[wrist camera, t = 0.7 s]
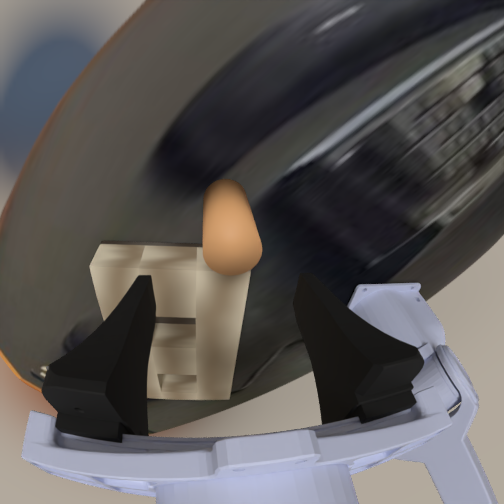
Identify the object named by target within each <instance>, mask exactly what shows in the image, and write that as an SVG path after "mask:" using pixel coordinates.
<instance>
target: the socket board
mask: <svg viewBox="0 0 504 504" xmlns="http://www.w3.org/2000/svg"><path fill="white" fill-rule="evenodd" d="M90 271H91V275H92V279H93V283H94V287H95V291H96V295H97V298H98V302H99V305H100V309H101V312H102V316H103V319H104V321H105V319H106V318H107V317H108V316H109V315H110V314H111V312H112V311H113V310H114V309H115V307H116V306H117V305H118V304H119V302H120V301H121V299H122V298H123V297H124V295H125V294H126V293H127V291H128V290H129V288H130V287H131V285H132V284H133V282H134V281H135V279H136V278H137V277H138V276H139V275H151V277H152V283H153V290H154V296H155V301H156V320H155V328H154V334H153V339H152V345H151V351H150V357H149V363H148V376H147V398H157V399H178V400H229V398H230V393H231V387H232V381H233V375H234V369H235V363H236V357H237V351H238V345H239V339H240V333H241V327H242V321H243V316H244V310H245V304H246V298H247V292H248V286H249V280H250V274H251V271H250V270H249V271H247V272H245V273H243V274H239V275H232V276H229V275H222V274H219V273H217V272H215V271H213V270H212V269H210V268H209V267H208V265H207V264H206V262H205V261H204V258H203V244H190V243H160V242H129V241H102V242H101V244H100V246H99V248H98V250H97V252H96V254H95V256H94V258H93V260H92V262H91V264H90Z"/></svg>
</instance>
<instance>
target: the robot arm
mask: <svg viewBox="0 0 504 504" xmlns="http://www.w3.org/2000/svg"><path fill="white" fill-rule="evenodd" d="M420 287H421V285H420V284H419V283H399V284H362V285H358V286H357V287H356V288H355V290H354V293H353V295H352V297H351V299H350V302H349V304H348V306H346V305H345V304H343V303H342V302H341V301H340V300H339V299H338V298H337V297H336V296H335V295H334V294H333V293H332V292H331V291H330V290H329V289H328V288H327V287H326V286H325V285H323V284H322V283H321V282H320V281H319V280H318V279H317V278H316V277H315V276H314V275H313V274H312V273H300V276H299V281H298V285H297V289H296V293H295V297H294V301H293V306H294V311H295V316H296V320H297V323H298V326H299V329H300V332H301V335H302V337H303V340H304V343H305V346H306V348H307V351H308V354H309V357H310V360H311V364H312V368H313V372H314V377H315V382H316V387H317V392H318V398H319V404H320V411H321V419H322V425H318V426H313V427H307V428H302V429H294V430H288V431H281V432H273V433H265V434H256V435H244V436H232V437H210V438H174V437H152V436H149V435H148V418H147V376H148V363H149V357H150V351H151V345H152V339H153V334H154V328H155V320H156V301H155V296H154V290H153V283H152V277H151V275H139V276H138V277H137V278H136V279H135V281H134V282H133V284H132V285H131V287H130V288H129V290H128V291H127V293H126V294H125V295H124V297H123V298H122V299H121V301H120V302H119V304H118V305H117V306H116V307H115V309H114V310H113V311H112V312H111V314H110V315H109V316H108V317H107V318H106V319H105V321H104V322H103V323H102V324H101V325H100V326H99V327H98V328H97V329H96V330H95V331H94V332H93V333H92V334H91V335H90V336H89V337H88V338H86V339H85V340H84V341H83V342H82V343H81V344H79V345H78V346H77V347H76V348H74V349H73V350H72V351H70V352H69V353H67V354H66V355H64V356H63V357H61V358H60V359H58V360H56V361H55V362H53V363H51V364H50V365H49V368H48V370H47V373H46V376H45V380H44V383H43V387H42V394H43V396H44V397H45V399H46V400H47V401H48V402H49V403H50V404H51V405H52V406H53V407H54V408H55V409H56V410H57V412H58V414H57V418H55V417H54V416H51V415H48V414H44V413H40V412H37V411H30V415H29V419H28V424H27V428H26V433H25V438H24V444H23V450H22V456H21V457H22V458H23V459H24V460H26V461H28V462H29V463H31V464H33V465H34V466H36V467H38V468H40V469H42V470H44V471H45V472H47V473H49V474H52V475H55V476H59V477H62V478H65V479H69V480H72V481H76V482H80V483H83V484H87V485H91V486H95V487H100V488H104V489H109V490H114V491H119V492H124V493H130V494H136V495H143V496H151V497H156V504H359V503H358V499H357V496H356V492H355V489H354V486H353V482H352V479H351V475H352V474H355V473H358V472H361V471H364V470H367V469H369V468H372V467H374V466H377V465H379V464H382V463H384V462H386V461H389V460H391V459H398V460H405V461H413V462H422V463H424V464H425V466H426V468H427V470H428V472H429V474H430V476H431V478H432V480H433V482H434V484H435V486H436V488H437V490H438V492H439V495H440V497H441V499H442V501H443V503H444V504H498V502H497V500H496V497H495V495H494V492H493V490H492V487H491V485H490V483H489V480H488V478H487V476H486V474H485V471H484V469H483V467H482V465H481V463H480V461H479V459H478V456H477V454H476V452H475V450H474V448H473V446H472V444H471V442H470V440H469V438H468V437H467V433H468V430H469V429H470V426H471V424H472V422H473V420H474V418H475V416H476V413H477V411H478V408H479V404H478V401H479V399H478V395H477V393H476V392H475V390H474V388H473V385H472V382H471V380H470V378H469V376H468V374H467V373H466V371H465V369H464V368H463V366H462V364H461V363H460V361H459V360H458V358H457V357H456V355H455V354H454V353H453V351H452V350H451V349H450V348H449V347H448V346H446V345H445V333H444V329H443V326H442V324H441V323H440V321H439V319H438V318H437V317H436V315H435V314H434V313H433V311H432V310H431V308H430V307H429V305H428V304H427V303H426V301H425V300H424V299H423V297H422V296H421V294H420V293H419V292H418V291H419V289H420ZM461 401H462V402H461ZM460 402H461V404H460V405H459V406H458V407H457V408H456V409H455V410H454V411H452V412H450V413H449V414H448V413H447V411H449V410H450V409H452V408H453V407H454V406H456V405H457V404H459V403H460Z"/></svg>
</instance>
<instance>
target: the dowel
mask: <svg viewBox="0 0 504 504" xmlns="http://www.w3.org/2000/svg"><path fill="white" fill-rule="evenodd" d="M261 255H262V244H261V241H260V238H259V234H258V231H257V228H256V225H255V221H254V218H253V215H252V212H251V208H250V205H249V202H248V199H247V196H246V192H245V190H244V188H243V187H242V186H241V185H240V184H239V183H238V182H236V181H234V180H230V179H221V180H218V181H215V182H213V183H212V184H211V185H210V186H209V187H208V188H207V189H206V191H205V193H204V198H203V258H204V261H205V262H206V264H207V265H208V267H209V268H210V269H212V270H213V271H215V272H217V273H219V274H222V275H229V276H232V275H239V274H243V273H245V272H247V271H249V270H251V269H252V268H253V267H254V266H255V265H256V264H257V263H258V261H259V260H260V258H261Z"/></svg>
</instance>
